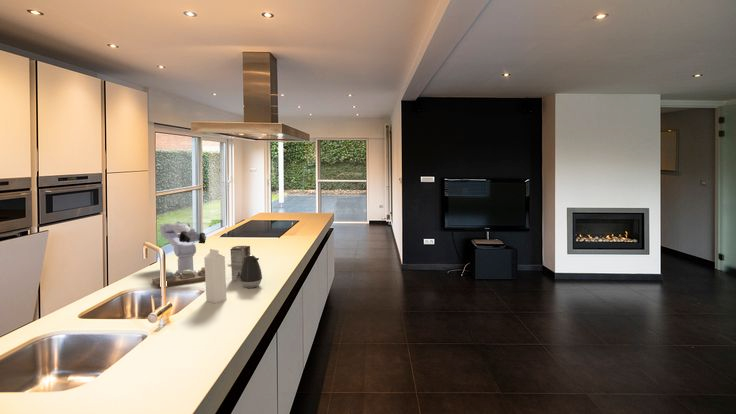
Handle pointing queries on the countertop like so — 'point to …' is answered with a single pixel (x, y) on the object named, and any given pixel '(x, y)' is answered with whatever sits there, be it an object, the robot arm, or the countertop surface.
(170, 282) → the button panel
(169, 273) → the slate blue button
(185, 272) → the sage button
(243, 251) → the coffee box
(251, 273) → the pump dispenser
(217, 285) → the milk
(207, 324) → the countertop surface
